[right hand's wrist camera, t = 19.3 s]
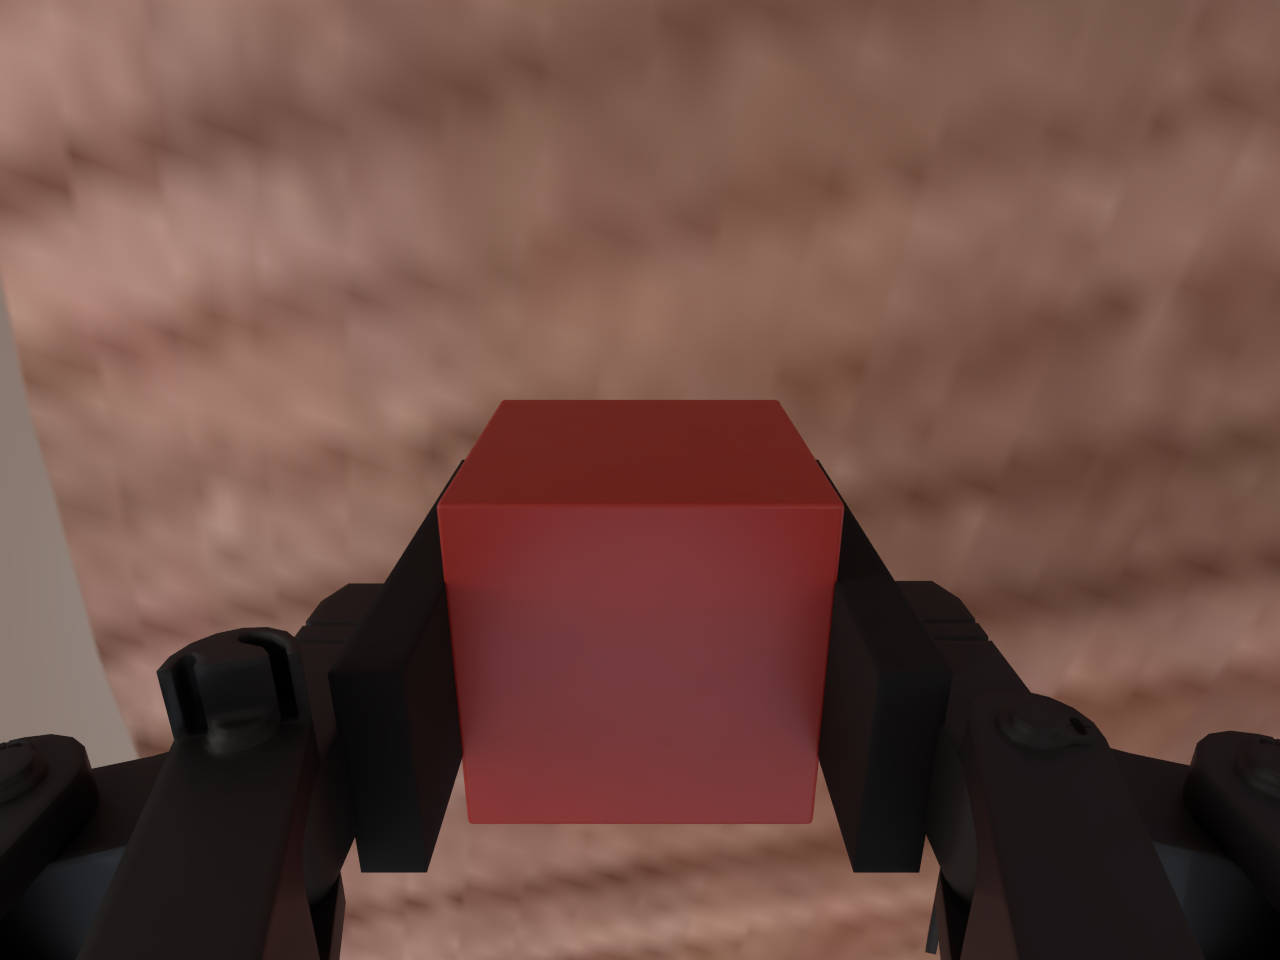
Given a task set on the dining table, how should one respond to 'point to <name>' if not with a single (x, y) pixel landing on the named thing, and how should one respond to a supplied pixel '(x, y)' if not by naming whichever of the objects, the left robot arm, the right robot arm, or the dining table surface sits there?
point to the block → (640, 612)
